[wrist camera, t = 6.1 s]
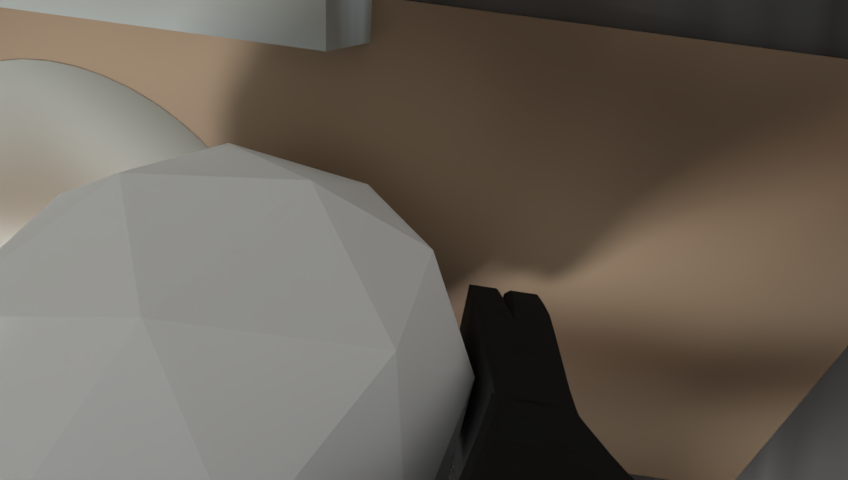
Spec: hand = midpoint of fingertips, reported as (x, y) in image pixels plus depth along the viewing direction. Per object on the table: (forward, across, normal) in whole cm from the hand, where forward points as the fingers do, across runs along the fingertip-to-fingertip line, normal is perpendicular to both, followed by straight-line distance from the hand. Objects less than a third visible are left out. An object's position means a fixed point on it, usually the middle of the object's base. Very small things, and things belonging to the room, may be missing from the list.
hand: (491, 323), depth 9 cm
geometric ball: (+2, +4, 0) cm, 5 cm away
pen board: (+2, +3, 0) cm, 4 cm away
